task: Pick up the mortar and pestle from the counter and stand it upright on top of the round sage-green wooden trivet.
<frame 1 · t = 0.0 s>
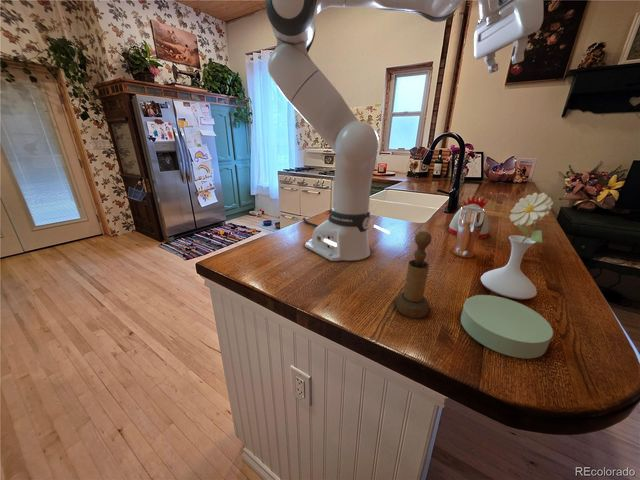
hand: (504, 67, 65), 52 cm above the counter, tool tilted 20°, fingers open, 8 cm apart
trivet: (500, 330, 50), on the counter
beer glass: (462, 254, 84), on the counter
mortar and pestle: (411, 309, 56), on the counter
flower in vase: (506, 292, 63), on the counter
kitchen timer: (467, 232, 103), on the counter
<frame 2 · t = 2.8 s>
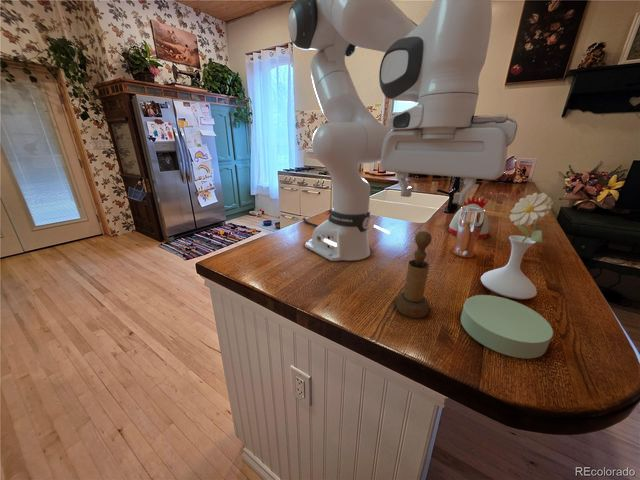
hand: (430, 199, 47), 24 cm above the counter, tool pointing down, fingers open, 8 cm apart
nothing on the counter moved.
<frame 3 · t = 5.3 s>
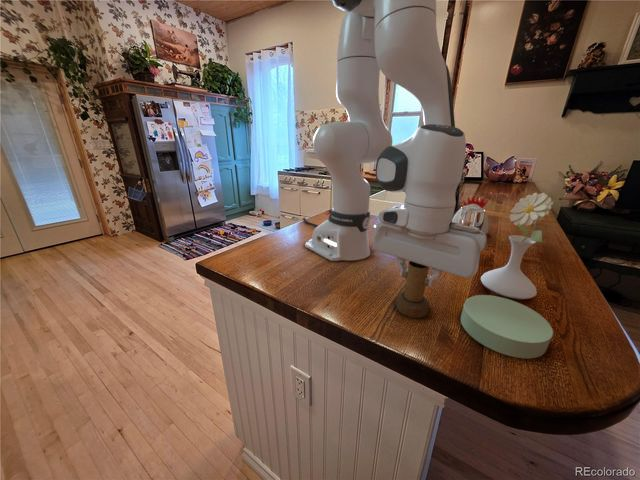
hand: (415, 280, 54), 7 cm above the counter, tool pointing down, fingers closed on mortar and pestle, 4 cm apart
mortar and pestle: (411, 309, 56), on the counter, touching gripper
everything else where it was.
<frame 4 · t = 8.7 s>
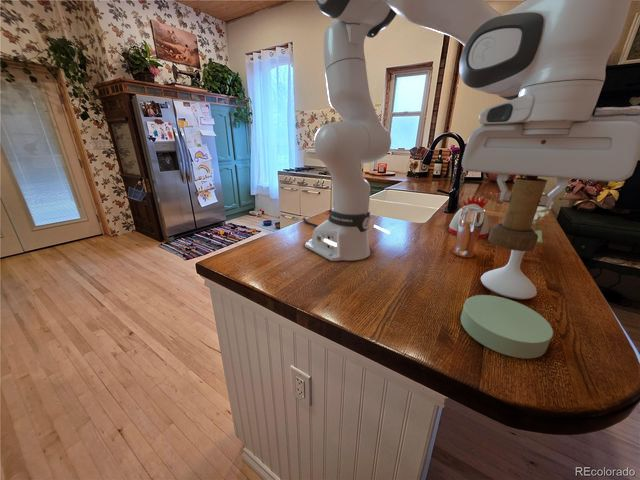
hand: (523, 204, 42), 25 cm above the counter, tool pointing down, fingers closed on mortar and pestle, 4 cm apart
mortar and pestle: (509, 244, 45), point 18 cm above the counter, touching gripper
everything else where it was.
when the fingers open (10 cm above the counter, at t = 12.4 s): mortar and pestle stays where it is, resting on trivet.
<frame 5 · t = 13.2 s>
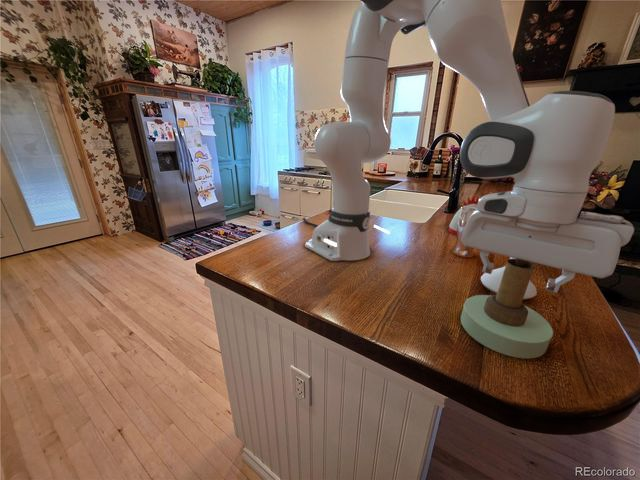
hand: (516, 280, 46), 11 cm above the counter, tool pointing down, fingers open, 8 cm apart
mortar and pestle: (503, 315, 49), point 3 cm above the counter, touching trivet
everything else where it was.
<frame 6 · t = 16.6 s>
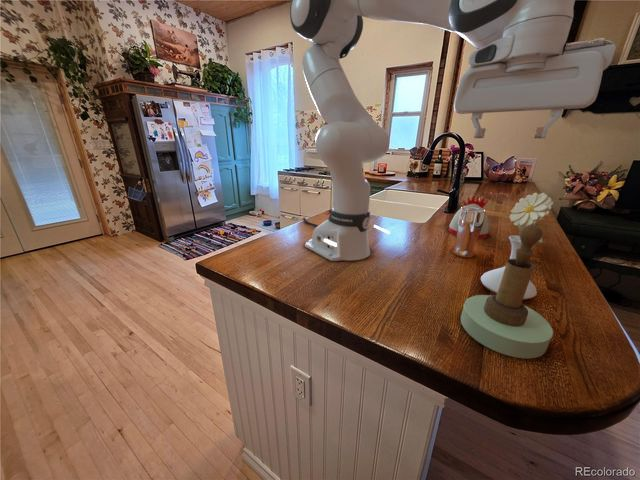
hand: (507, 138, 48), 35 cm above the counter, tool pointing down, fingers open, 8 cm apart
nothing on the counter moved.
at the end: mortar and pestle inside the target area on the trivet (0.3 cm from its centre), point 3.3 cm above the trivet's base; mortar and pestle tilted 0°; the gripper is holding nothing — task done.
